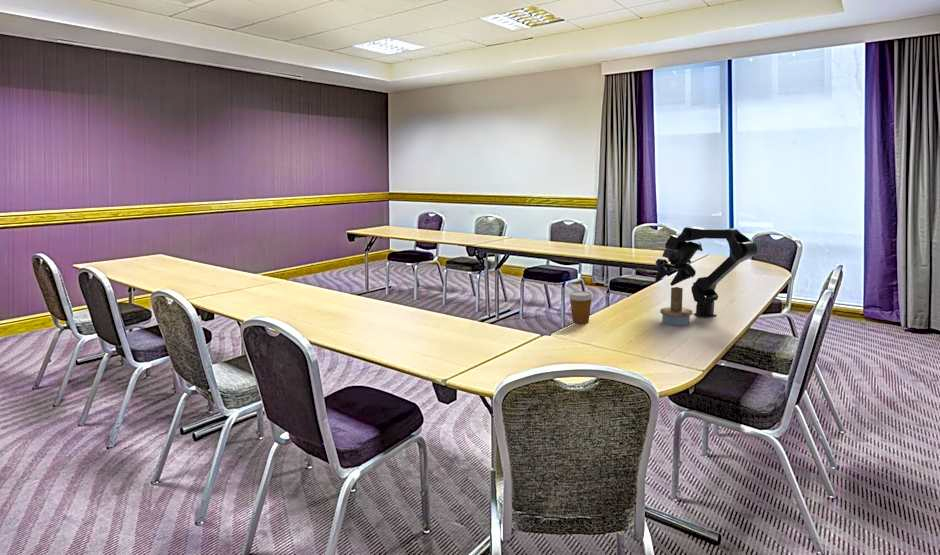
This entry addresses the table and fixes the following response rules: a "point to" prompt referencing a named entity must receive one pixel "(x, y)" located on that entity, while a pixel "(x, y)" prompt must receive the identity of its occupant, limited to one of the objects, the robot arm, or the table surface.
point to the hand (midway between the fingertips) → (663, 283)
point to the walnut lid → (676, 304)
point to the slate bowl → (676, 320)
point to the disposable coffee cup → (580, 306)
